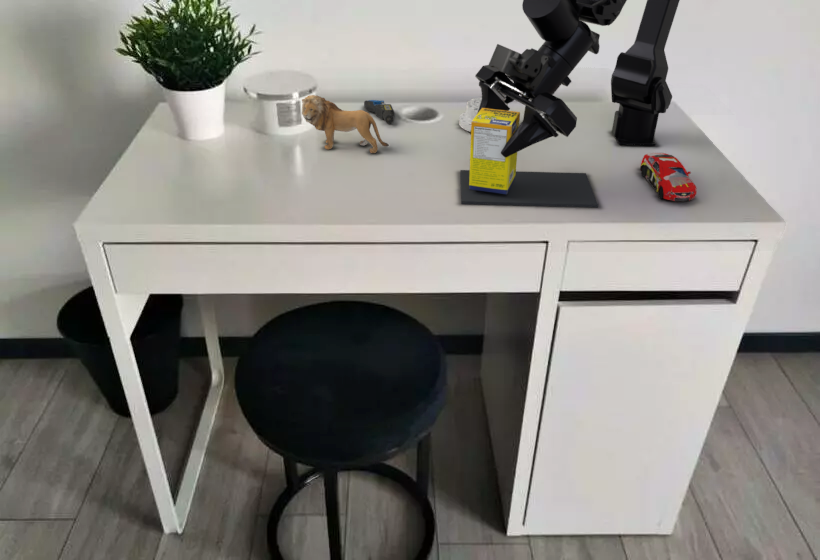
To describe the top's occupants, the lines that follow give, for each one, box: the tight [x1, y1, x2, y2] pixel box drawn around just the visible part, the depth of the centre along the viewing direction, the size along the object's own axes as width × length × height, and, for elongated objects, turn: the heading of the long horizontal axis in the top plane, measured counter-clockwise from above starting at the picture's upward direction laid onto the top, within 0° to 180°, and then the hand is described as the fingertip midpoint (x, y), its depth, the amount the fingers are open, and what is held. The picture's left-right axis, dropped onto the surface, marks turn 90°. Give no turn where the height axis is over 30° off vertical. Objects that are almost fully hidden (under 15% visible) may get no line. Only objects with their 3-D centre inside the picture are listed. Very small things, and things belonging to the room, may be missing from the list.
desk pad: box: [459, 169, 599, 208], centre depth 109 cm, size 20×11×1 cm, turn 87°
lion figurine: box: [301, 94, 390, 154], centre depth 120 cm, size 15×5×9 cm, turn 86°
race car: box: [639, 152, 698, 202], centre depth 109 cm, size 13×5×4 cm, turn 2°
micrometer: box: [363, 99, 395, 124], centre depth 135 cm, size 12×2×5 cm
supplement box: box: [469, 108, 521, 195], centre depth 105 cm, size 6×6×11 cm
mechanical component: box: [458, 96, 509, 132], centre depth 130 cm, size 10×4×10 cm
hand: (486, 145), depth 104 cm, fingers closed on supplement box, 8 cm apart
